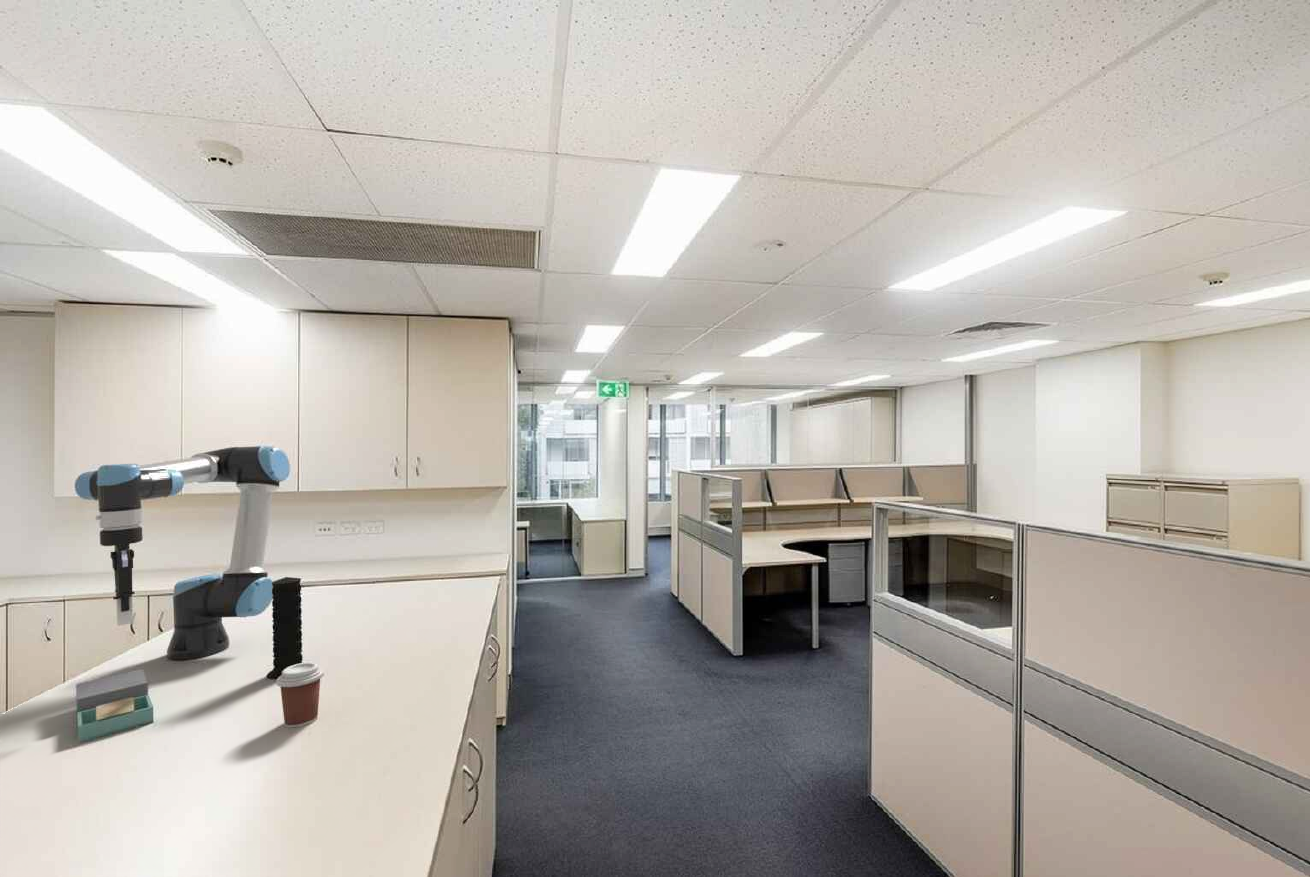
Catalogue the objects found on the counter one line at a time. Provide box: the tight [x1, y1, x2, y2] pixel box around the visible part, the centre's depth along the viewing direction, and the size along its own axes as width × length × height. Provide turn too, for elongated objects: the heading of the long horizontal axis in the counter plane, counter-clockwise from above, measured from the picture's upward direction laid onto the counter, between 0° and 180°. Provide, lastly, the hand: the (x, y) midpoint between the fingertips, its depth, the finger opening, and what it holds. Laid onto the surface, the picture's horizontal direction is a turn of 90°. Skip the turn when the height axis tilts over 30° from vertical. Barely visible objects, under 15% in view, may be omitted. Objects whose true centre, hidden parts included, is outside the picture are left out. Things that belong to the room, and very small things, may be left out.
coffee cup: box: [276, 661, 325, 729], centre depth 128 cm, size 9×9×12 cm
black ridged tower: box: [265, 576, 304, 680], centre depth 157 cm, size 10×26×10 cm
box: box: [77, 694, 154, 744], centre depth 128 cm, size 12×10×4 cm
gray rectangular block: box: [75, 668, 149, 726], centre depth 137 cm, size 12×13×6 cm
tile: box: [96, 697, 134, 721], centre depth 127 cm, size 6×6×3 cm
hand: (125, 623), depth 138 cm, fingers closed
